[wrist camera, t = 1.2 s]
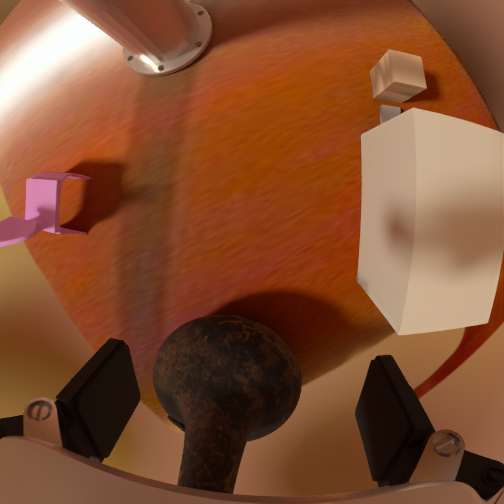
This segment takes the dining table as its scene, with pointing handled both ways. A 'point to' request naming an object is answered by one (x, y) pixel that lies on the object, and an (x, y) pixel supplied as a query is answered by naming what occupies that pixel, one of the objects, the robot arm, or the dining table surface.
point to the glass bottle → (224, 393)
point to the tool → (396, 80)
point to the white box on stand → (431, 220)
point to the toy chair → (38, 209)
